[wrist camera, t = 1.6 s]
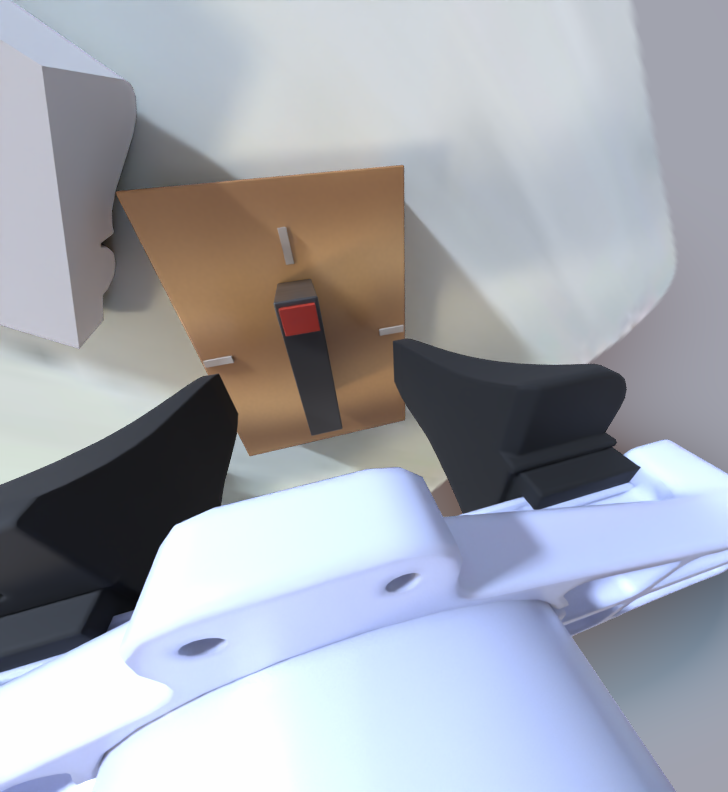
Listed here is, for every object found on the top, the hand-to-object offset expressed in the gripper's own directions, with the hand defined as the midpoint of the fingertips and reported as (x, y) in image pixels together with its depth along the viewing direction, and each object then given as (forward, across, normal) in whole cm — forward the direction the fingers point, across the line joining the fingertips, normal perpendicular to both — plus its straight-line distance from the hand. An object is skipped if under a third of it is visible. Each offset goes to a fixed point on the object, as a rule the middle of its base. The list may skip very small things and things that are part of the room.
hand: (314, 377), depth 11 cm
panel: (+7, 0, 0) cm, 7 cm away
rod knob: (+4, 0, 0) cm, 4 cm away
